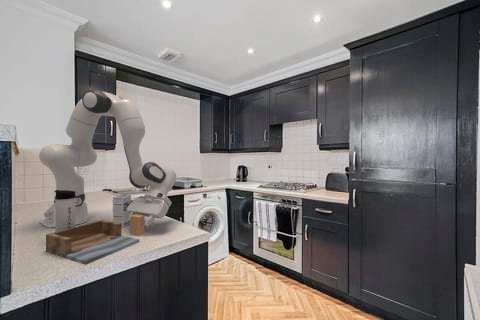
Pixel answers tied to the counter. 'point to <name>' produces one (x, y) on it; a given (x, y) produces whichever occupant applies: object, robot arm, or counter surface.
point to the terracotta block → (136, 225)
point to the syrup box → (121, 209)
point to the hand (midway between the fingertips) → (137, 224)
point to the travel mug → (64, 209)
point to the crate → (88, 241)
